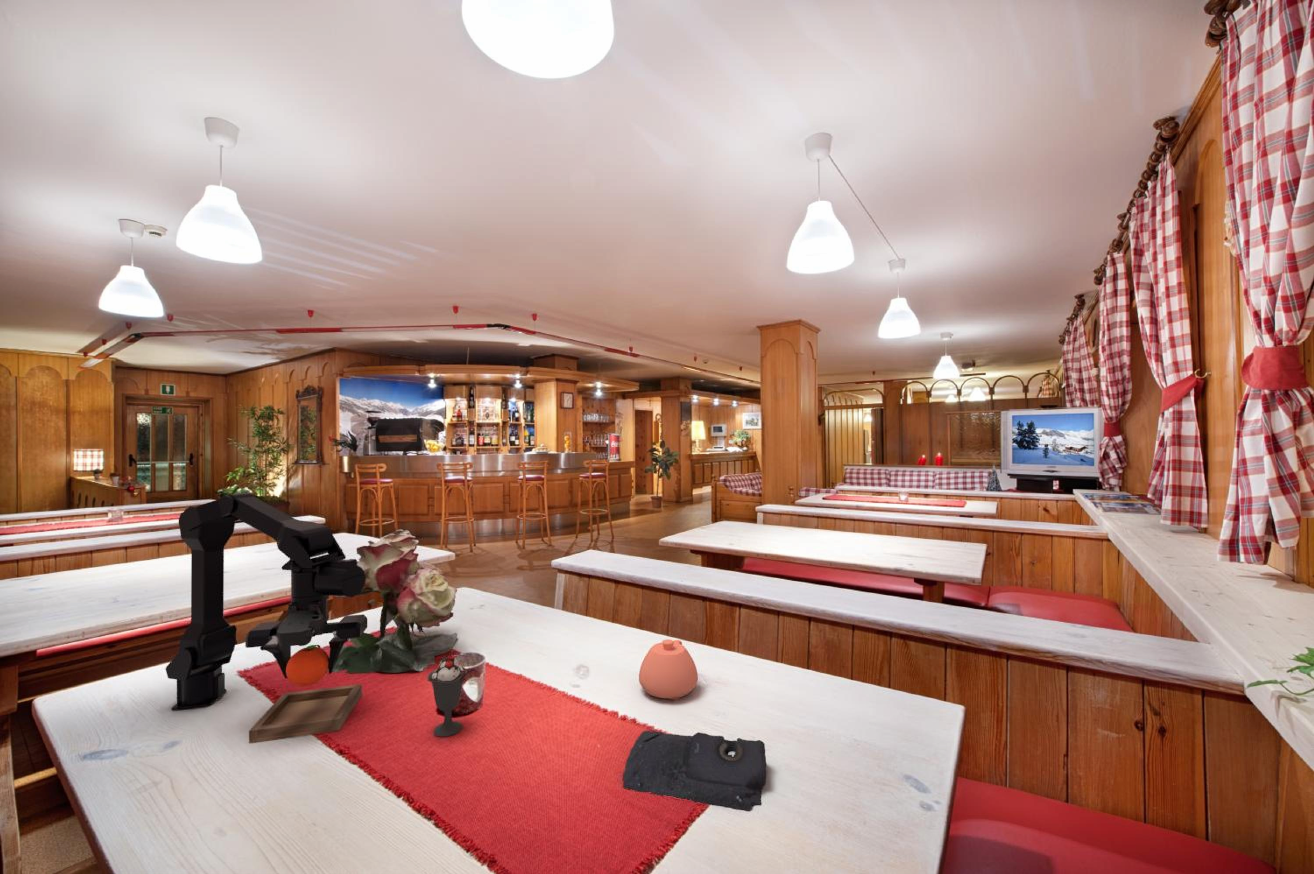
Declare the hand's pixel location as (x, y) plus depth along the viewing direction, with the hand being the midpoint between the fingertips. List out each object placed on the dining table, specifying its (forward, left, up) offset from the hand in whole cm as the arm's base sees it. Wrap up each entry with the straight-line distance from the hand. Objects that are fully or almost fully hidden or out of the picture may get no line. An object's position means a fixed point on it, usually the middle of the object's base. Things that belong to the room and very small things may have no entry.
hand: (309, 675), depth 99 cm
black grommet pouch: (+66, -35, -9) cm, 75 cm away
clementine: (0, 0, -2) cm, 2 cm away
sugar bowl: (+69, -8, -8) cm, 70 cm away
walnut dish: (0, 0, -8) cm, 8 cm away
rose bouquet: (+11, +29, -8) cm, 32 cm away
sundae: (+26, -12, -8) cm, 30 cm away
